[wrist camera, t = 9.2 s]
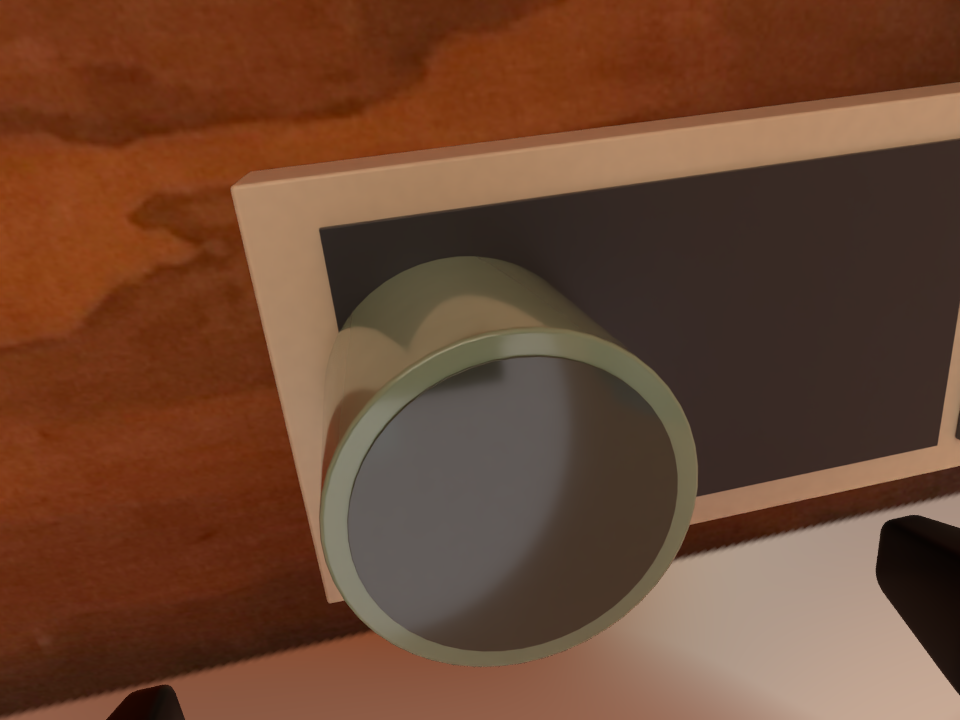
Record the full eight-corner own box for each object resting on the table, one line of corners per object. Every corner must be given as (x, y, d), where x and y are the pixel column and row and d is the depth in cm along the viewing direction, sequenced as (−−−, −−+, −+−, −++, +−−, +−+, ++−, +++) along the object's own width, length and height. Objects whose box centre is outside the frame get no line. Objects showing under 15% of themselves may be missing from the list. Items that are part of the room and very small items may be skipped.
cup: (635, 413, 16) (755, 536, 12) (425, 552, 16) (461, 728, 12) (507, 198, 14) (594, 244, 9) (263, 362, 14) (228, 489, 9)
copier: (1001, 76, 19) (1145, 70, 15) (948, 408, 22) (1055, 460, 19) (247, 172, 16) (224, 189, 12) (328, 534, 19) (327, 622, 16)
